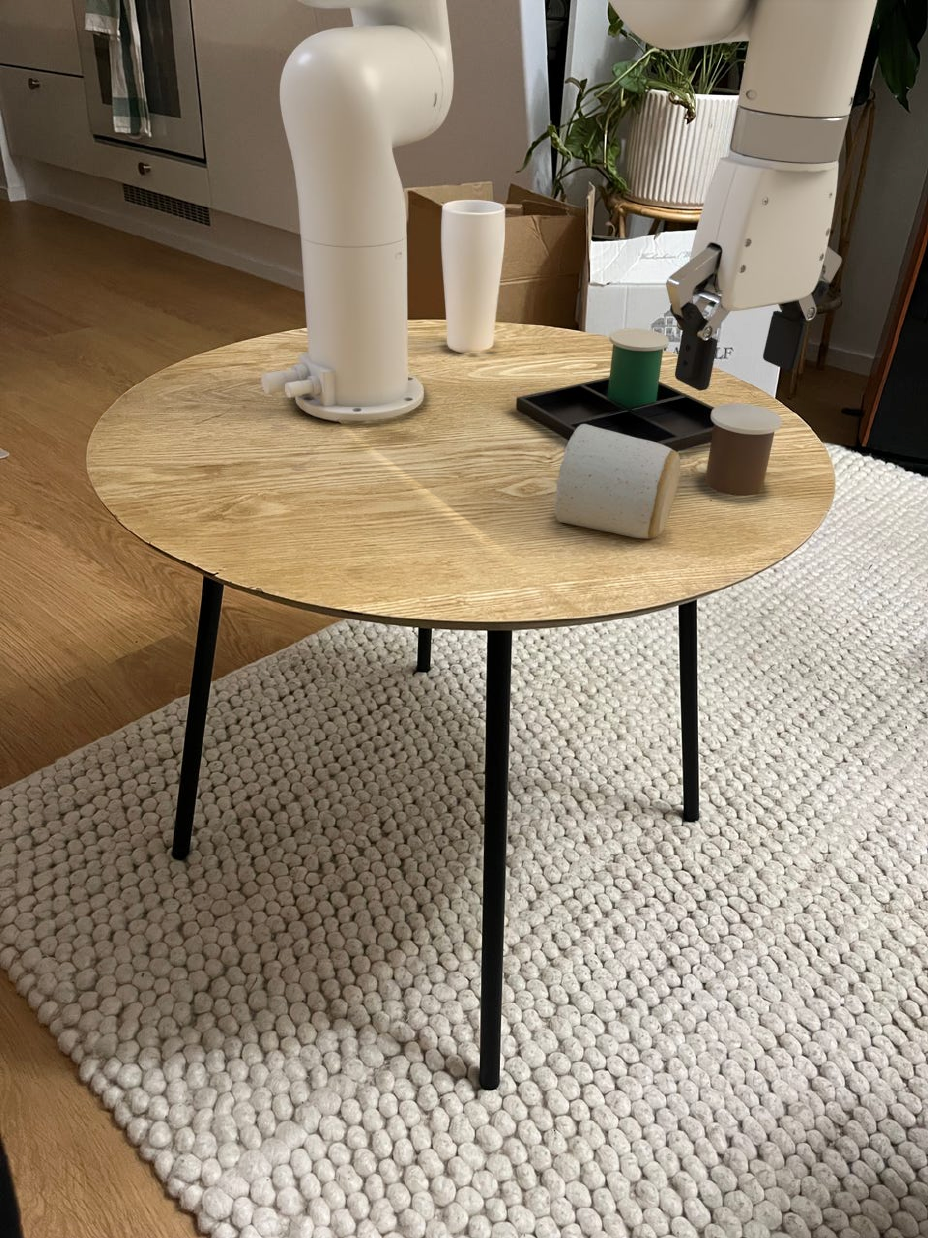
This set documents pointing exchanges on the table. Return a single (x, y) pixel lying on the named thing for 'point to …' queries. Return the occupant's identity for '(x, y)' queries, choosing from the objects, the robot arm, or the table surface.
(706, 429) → the tray
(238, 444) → the table surface
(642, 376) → the cylinder
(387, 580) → the table surface
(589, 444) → the ceramic mug
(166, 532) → the table surface
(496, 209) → the drinking glass
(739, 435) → the cylinder
